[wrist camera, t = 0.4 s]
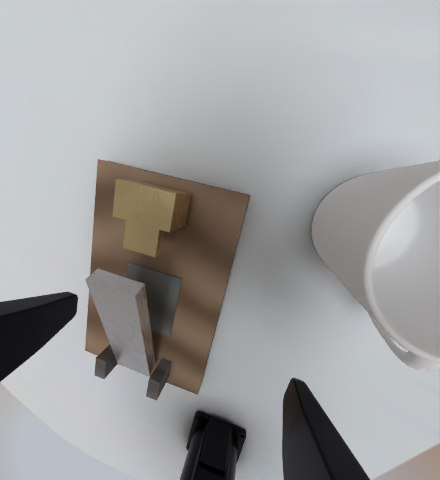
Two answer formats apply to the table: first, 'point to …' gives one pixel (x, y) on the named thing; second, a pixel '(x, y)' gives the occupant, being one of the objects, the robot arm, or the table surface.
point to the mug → (389, 254)
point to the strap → (124, 319)
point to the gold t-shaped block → (148, 213)
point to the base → (169, 275)
